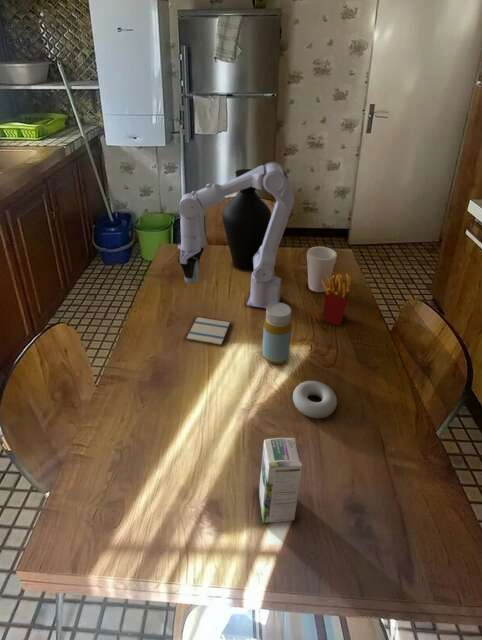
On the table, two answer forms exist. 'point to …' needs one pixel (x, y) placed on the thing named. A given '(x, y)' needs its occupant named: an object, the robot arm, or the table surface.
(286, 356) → the bottle
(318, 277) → the foam cup
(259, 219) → the vase
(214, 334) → the dish cloth
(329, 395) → the donut
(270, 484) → the syrup box
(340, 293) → the french fries
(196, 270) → the pepper shaker
